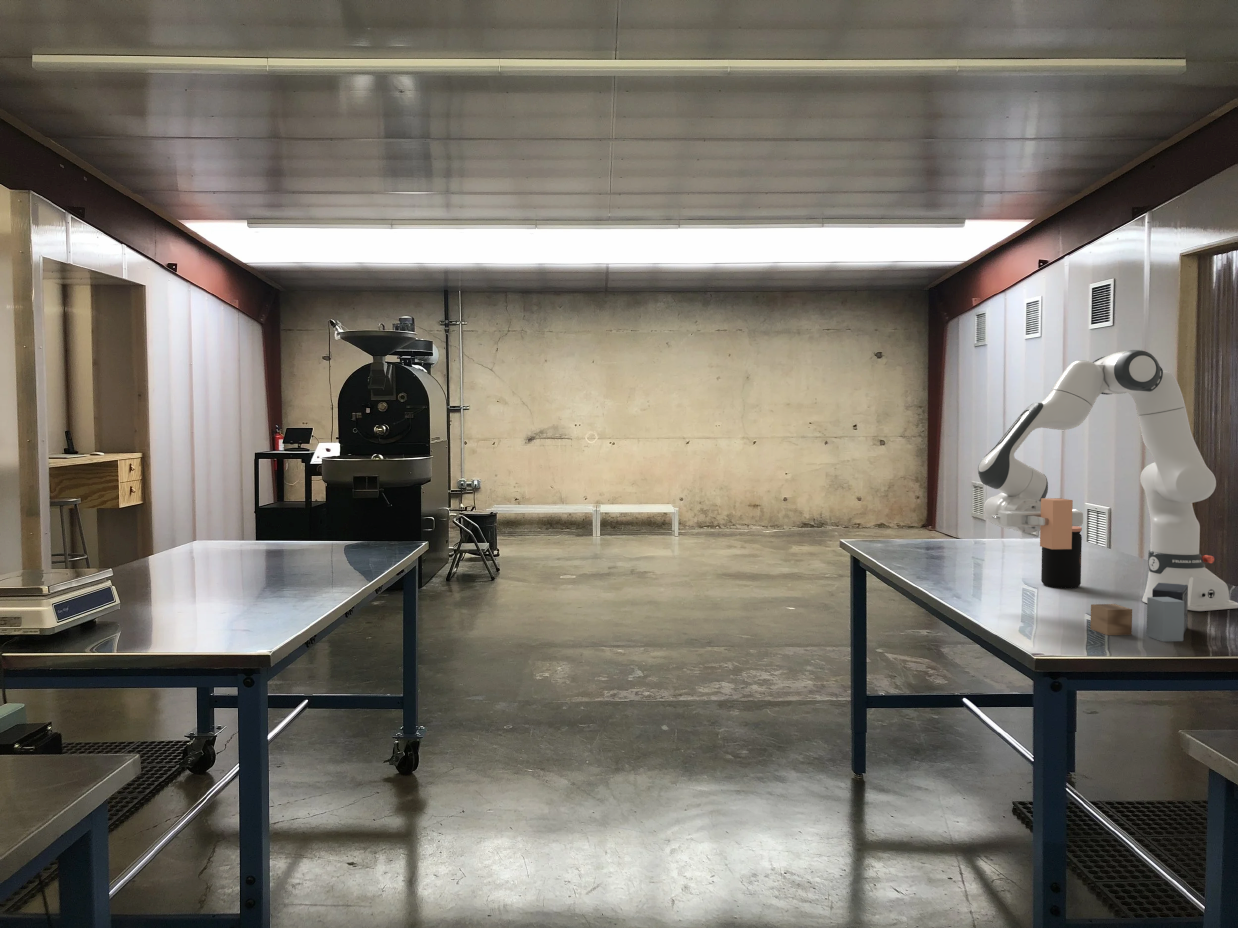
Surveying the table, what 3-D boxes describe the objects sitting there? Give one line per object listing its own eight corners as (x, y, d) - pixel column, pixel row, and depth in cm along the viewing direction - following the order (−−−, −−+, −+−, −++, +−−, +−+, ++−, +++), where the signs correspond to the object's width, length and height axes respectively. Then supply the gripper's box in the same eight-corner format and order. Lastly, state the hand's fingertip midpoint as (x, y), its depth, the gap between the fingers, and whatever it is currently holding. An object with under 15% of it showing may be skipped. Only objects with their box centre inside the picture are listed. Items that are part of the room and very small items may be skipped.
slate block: (1166, 635, 192) (1167, 596, 191) (1183, 640, 187) (1184, 601, 186) (1146, 635, 191) (1147, 597, 191) (1162, 641, 186) (1163, 601, 186)
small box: (1156, 623, 203) (1157, 581, 203) (1188, 627, 199) (1189, 584, 198) (1150, 632, 195) (1151, 587, 194) (1183, 636, 191) (1184, 591, 190)
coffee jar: (1088, 589, 247) (1089, 528, 246) (1051, 589, 247) (1053, 528, 246) (1069, 582, 257) (1070, 524, 257) (1034, 582, 258) (1035, 524, 257)
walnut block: (1114, 628, 199) (1114, 603, 198) (1131, 634, 193) (1132, 609, 192) (1090, 629, 198) (1090, 604, 198) (1107, 635, 192) (1107, 609, 192)
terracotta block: (1059, 545, 208) (1060, 498, 207) (1071, 548, 203) (1072, 500, 202) (1039, 546, 207) (1041, 498, 207) (1052, 549, 202) (1053, 500, 202)
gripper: (988, 504, 217) (1018, 509, 203) (1063, 503, 218) (1097, 508, 205) (987, 528, 217) (1017, 535, 203) (1062, 527, 219) (1096, 533, 205)
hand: (1058, 521), depth 204 cm, fingers closed on terracotta block, 5 cm apart
